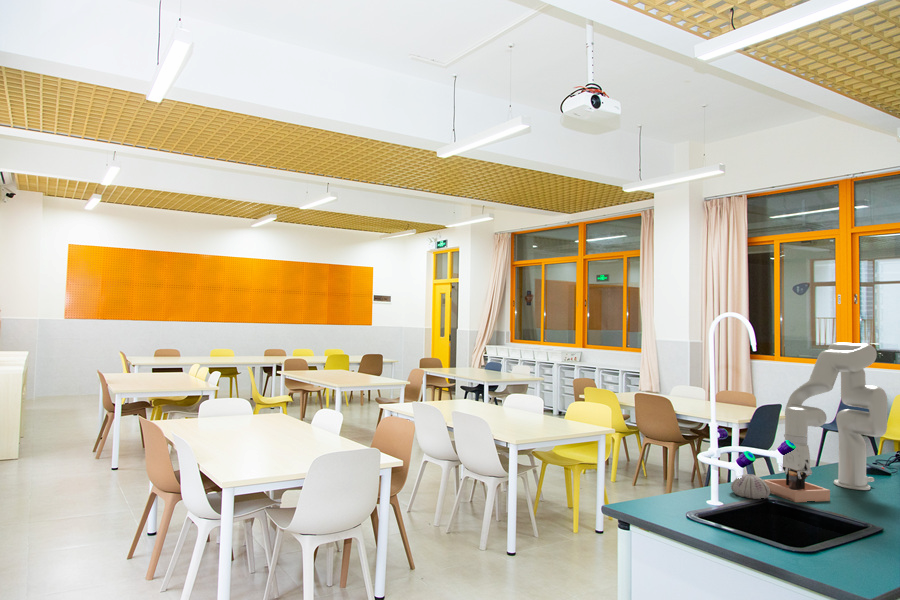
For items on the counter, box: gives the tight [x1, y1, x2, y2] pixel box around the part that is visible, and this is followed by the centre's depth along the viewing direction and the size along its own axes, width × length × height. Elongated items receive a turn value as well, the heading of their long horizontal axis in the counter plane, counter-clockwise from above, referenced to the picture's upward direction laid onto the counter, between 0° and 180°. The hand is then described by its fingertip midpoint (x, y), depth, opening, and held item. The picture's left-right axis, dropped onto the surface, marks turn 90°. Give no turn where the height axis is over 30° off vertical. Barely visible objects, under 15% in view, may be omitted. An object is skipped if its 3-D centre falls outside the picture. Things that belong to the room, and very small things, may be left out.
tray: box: [762, 478, 831, 503], centre depth 226 cm, size 16×16×4 cm
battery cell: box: [789, 469, 802, 491], centre depth 226 cm, size 4×4×8 cm
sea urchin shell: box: [730, 473, 771, 500], centre depth 223 cm, size 13×14×8 cm
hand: (795, 486), depth 226 cm, fingers closed on battery cell, 4 cm apart
